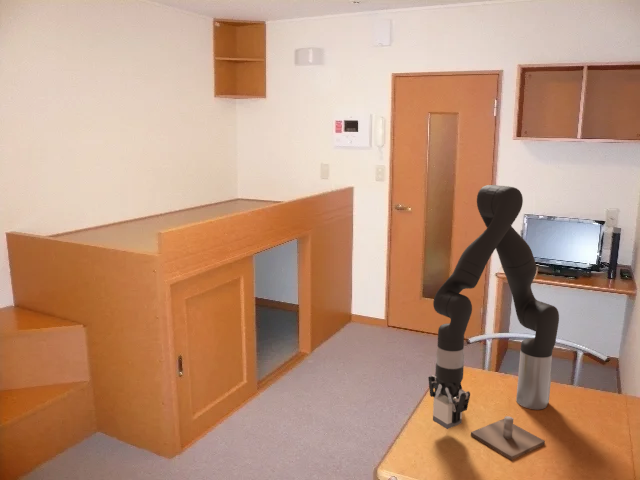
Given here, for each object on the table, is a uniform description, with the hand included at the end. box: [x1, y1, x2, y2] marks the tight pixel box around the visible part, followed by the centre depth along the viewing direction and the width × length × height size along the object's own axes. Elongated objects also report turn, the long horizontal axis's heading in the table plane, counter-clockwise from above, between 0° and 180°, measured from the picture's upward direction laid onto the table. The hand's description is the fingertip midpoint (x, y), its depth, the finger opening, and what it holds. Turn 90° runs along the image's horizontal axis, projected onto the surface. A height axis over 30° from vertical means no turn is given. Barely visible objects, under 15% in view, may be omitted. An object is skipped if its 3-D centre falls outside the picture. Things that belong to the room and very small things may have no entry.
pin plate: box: [470, 415, 546, 461], centre depth 155 cm, size 14×14×6 cm
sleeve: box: [432, 395, 463, 430], centre depth 157 cm, size 6×6×7 cm
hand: (447, 417), depth 157 cm, fingers closed on sleeve, 5 cm apart
